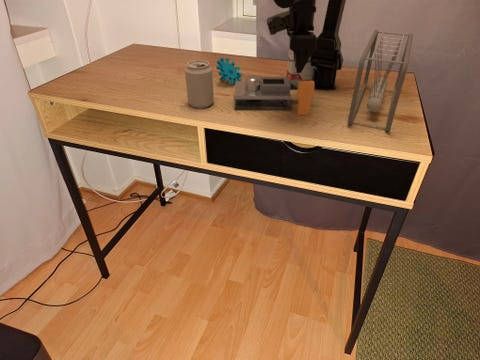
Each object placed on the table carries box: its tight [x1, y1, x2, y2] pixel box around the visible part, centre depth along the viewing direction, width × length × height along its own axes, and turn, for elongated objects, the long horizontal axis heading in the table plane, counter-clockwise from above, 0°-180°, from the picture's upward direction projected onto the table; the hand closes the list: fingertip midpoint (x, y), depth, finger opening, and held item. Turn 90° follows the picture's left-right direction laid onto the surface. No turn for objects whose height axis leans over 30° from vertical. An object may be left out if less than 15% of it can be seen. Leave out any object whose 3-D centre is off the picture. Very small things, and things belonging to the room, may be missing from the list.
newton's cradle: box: [347, 29, 414, 132], centre depth 97 cm, size 30×10×18 cm, turn 157°
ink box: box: [286, 46, 315, 81], centre depth 116 cm, size 9×5×12 cm, turn 100°
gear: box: [215, 56, 243, 86], centre depth 117 cm, size 11×6×10 cm
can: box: [184, 59, 215, 109], centre depth 101 cm, size 8×8×12 cm
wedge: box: [296, 81, 315, 116], centre depth 96 cm, size 4×2×9 cm, turn 89°
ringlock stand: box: [234, 74, 311, 111], centre depth 103 cm, size 22×12×7 cm, turn 89°
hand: (297, 66), depth 93 cm, fingers open, 9 cm apart
